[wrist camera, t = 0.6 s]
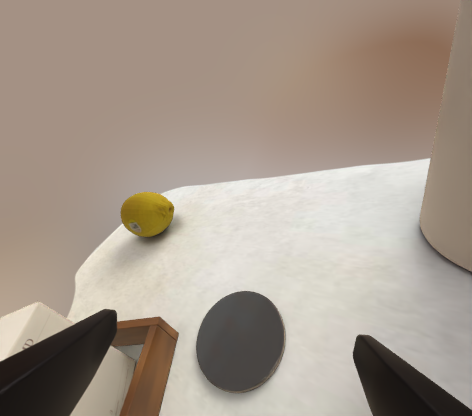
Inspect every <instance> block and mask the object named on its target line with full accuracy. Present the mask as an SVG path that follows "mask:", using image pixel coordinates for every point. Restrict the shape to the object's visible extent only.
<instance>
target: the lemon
mask: <svg viewBox="0 0 472 416" xmlns="http://www.w3.org/2000/svg"><path fill="white" fill-rule="evenodd" d="M173 213H174V206H173V204H172V203H171V202H170V201H168V199H167V198H165V197H164V196H162V195H160V194H157V193H153V192H143V193H138V194H135V195H133V196H131V197H129V198H128V199H127V200H126V201H125V202H124V204H123V205H122V208H121V219H122V222H123V224H124V226H125V227H126V228H127V229H128V230H129V231H130V232H132V233H133V234H135V235H138V236H143V237H150V236H154V235H157V234H159V233H161V232H162V231H163V230H165V229H166V228H167V227H168V226H169V225H170V223H171V221H172V218H173Z"/></svg>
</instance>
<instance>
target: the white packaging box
mask: <svg viewBox="0 0 472 416" xmlns="http://www.w3.org/2000/svg"><path fill="white" fill-rule="evenodd" d="M74 324H75V323H73V322H72V321H70V320H68V319H67V318H65V317H63V316H62V315H60V314H59V313H57V312H55V311H54V310H52V309H50V308H49V307H47V306H46V305H44V304H42V303H41V302H36V303H34V304H32V305H29V306H26V307H24V308H22V309H19V310H17V311H15V312H13V313H10V314H8V315H6V316H3V317H1V318H0V361H2V360H4V359H6V358H8V357H10V356H12V355H14V354H16V353H18V352H20V351H22V350H24V349H26V348H28V347H30V346H32V345H34V344H36V343H38V342H40V341H42V340H44V339H46V338H48V337H50V336H52V335H54V334H56V333H58V332H60V331H62V330H64V329H66V328H68V327H70V326H72V325H74ZM135 363H136V362H135V360H133V359H132V358H130V357H129V356H127V355H125V354H124V353H122V352H121V351H119V350H117V349H116V348H114V347H112V346H111V345H110V347H109V349H108V351H107V353H106V355H105V357H104V359H103V361H102V363H101V365H100V367H99V369H98V370H97V372H96V374H95V376H94V378H93V380H92V381H91V383H90V385H89V386H88V388H87V389H86V391H85V393H84V394H83V396H82V397H81V399H80V401H79V402H78V404H77V405H76V407H75V408H74V410H73V412H72V413H71V415H70V416H119V415H120V412H121V409H122V406H123V403H124V400H125V398H126V395H127V392H128V389H129V386H130V383H131V380H132V377H133V373H134V368H135Z"/></svg>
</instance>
